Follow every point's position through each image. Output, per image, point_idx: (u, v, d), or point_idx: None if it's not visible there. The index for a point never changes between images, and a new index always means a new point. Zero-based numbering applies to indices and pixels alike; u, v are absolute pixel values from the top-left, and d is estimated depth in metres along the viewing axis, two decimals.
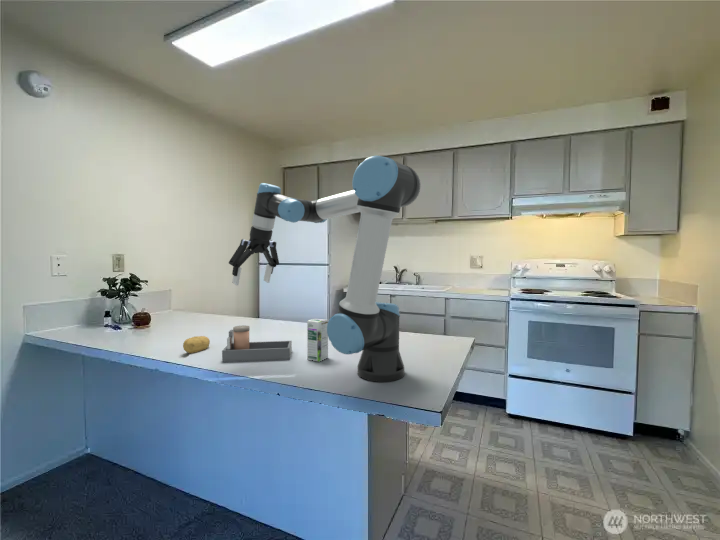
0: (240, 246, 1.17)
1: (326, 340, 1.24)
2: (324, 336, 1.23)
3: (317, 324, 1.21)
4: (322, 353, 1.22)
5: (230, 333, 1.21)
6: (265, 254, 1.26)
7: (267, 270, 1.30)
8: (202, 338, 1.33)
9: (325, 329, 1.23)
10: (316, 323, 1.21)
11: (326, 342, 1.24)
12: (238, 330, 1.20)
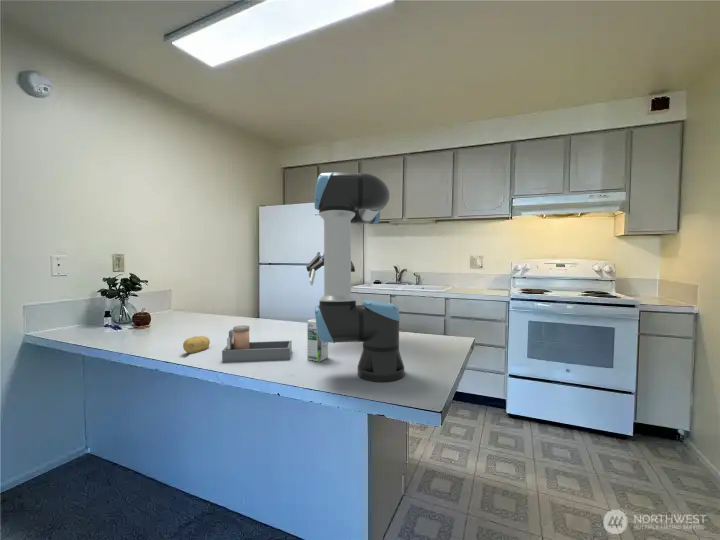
0: None
1: None
2: None
3: None
4: (322, 353, 1.22)
5: (230, 333, 1.21)
6: None
7: None
8: (202, 338, 1.33)
9: None
10: None
11: (326, 342, 1.24)
12: (238, 330, 1.20)
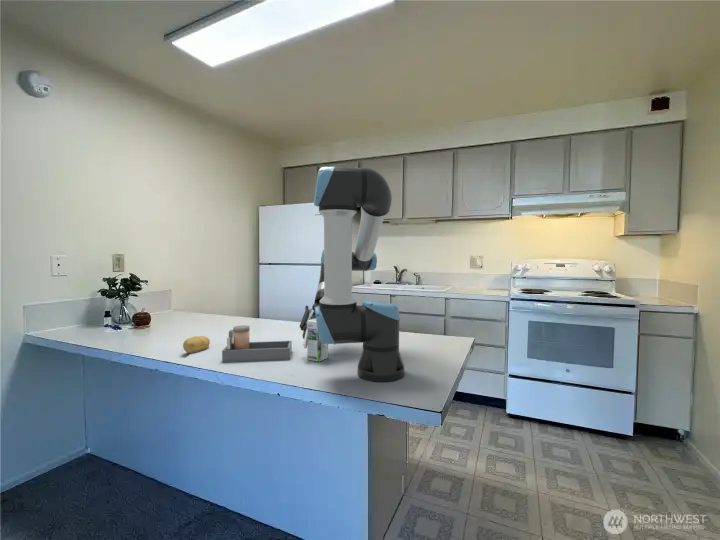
0: None
1: None
2: None
3: None
4: (322, 353, 1.22)
5: (230, 333, 1.21)
6: None
7: None
8: (202, 338, 1.33)
9: None
10: (316, 323, 1.21)
11: None
12: (238, 330, 1.20)
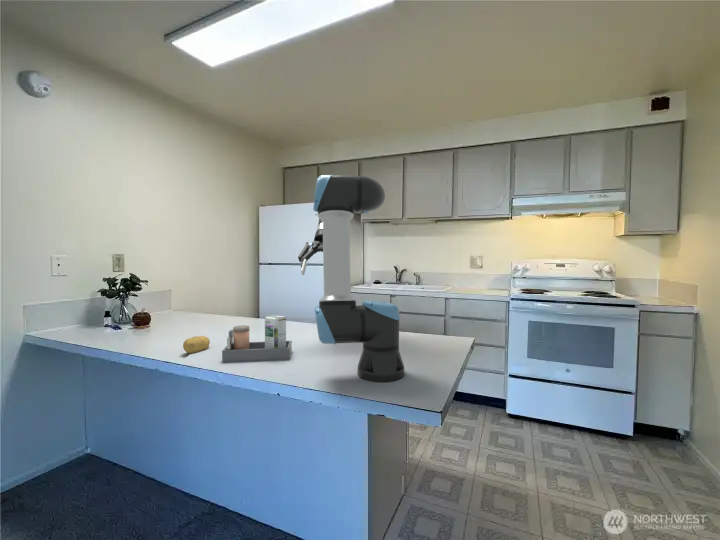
0: None
1: (284, 337, 1.25)
2: (281, 333, 1.24)
3: (274, 321, 1.22)
4: None
5: (230, 333, 1.21)
6: None
7: None
8: (202, 338, 1.33)
9: (282, 326, 1.24)
10: (273, 320, 1.22)
11: (284, 339, 1.25)
12: (238, 330, 1.20)
